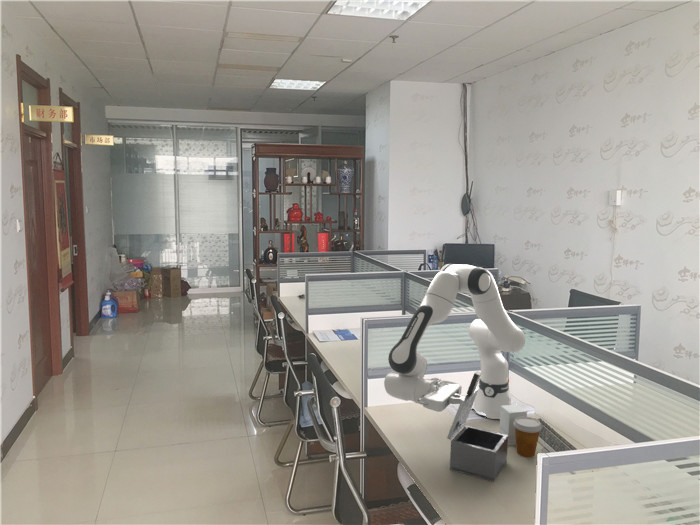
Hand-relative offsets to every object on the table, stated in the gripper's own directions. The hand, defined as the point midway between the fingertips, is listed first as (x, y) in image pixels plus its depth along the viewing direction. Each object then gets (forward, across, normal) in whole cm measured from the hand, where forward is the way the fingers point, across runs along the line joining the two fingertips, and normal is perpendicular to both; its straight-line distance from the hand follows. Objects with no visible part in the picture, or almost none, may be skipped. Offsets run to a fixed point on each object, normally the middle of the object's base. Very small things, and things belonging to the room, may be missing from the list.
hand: (465, 401), depth 193 cm
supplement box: (+10, +26, +22) cm, 36 cm away
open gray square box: (+6, 0, +22) cm, 23 cm away
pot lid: (+1, 0, 0) cm, 1 cm away
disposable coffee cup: (+17, +18, +22) cm, 33 cm away
